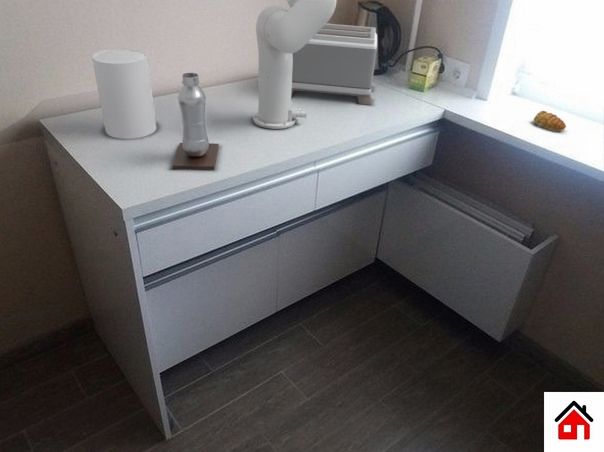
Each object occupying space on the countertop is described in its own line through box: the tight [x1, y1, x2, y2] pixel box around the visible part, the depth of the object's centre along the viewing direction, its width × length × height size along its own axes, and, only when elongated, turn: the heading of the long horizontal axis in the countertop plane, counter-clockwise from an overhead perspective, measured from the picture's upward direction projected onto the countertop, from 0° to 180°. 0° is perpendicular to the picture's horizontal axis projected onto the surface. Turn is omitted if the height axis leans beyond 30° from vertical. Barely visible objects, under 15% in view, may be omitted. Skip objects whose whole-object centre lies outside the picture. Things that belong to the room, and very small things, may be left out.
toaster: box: [291, 23, 378, 106], centre depth 166 cm, size 19×34×20 cm, turn 83°
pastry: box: [533, 110, 567, 132], centre depth 154 cm, size 9×7×4 cm
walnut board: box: [171, 142, 220, 171], centre depth 125 cm, size 10×13×1 cm
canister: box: [91, 47, 157, 140], centre depth 132 cm, size 14×14×20 cm
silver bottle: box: [177, 72, 210, 157], centre depth 119 cm, size 6×7×20 cm
